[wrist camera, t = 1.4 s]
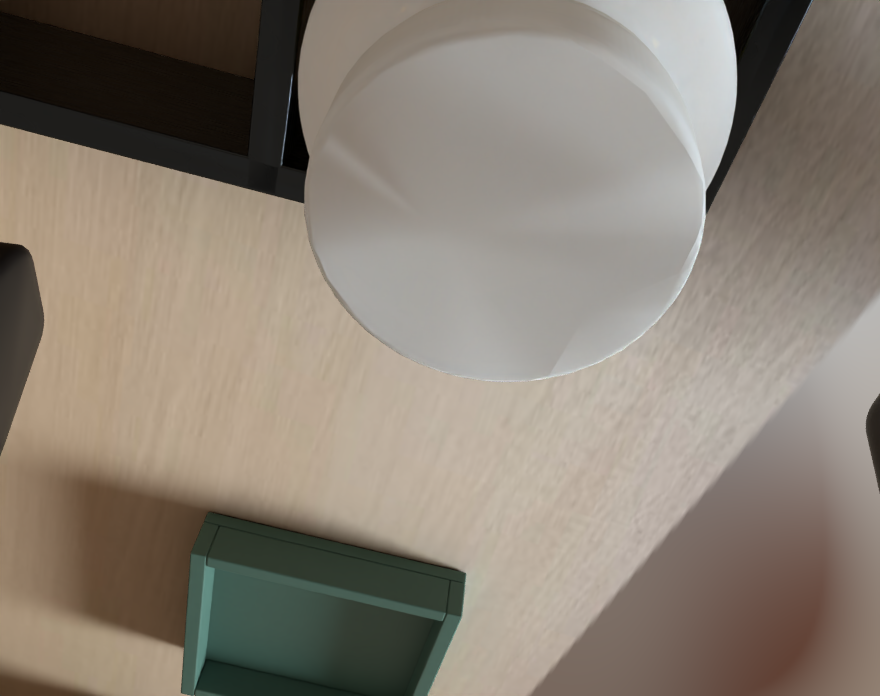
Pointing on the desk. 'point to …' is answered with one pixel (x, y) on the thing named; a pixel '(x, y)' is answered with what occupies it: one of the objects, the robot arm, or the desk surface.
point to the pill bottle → (512, 171)
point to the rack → (258, 95)
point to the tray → (311, 616)
